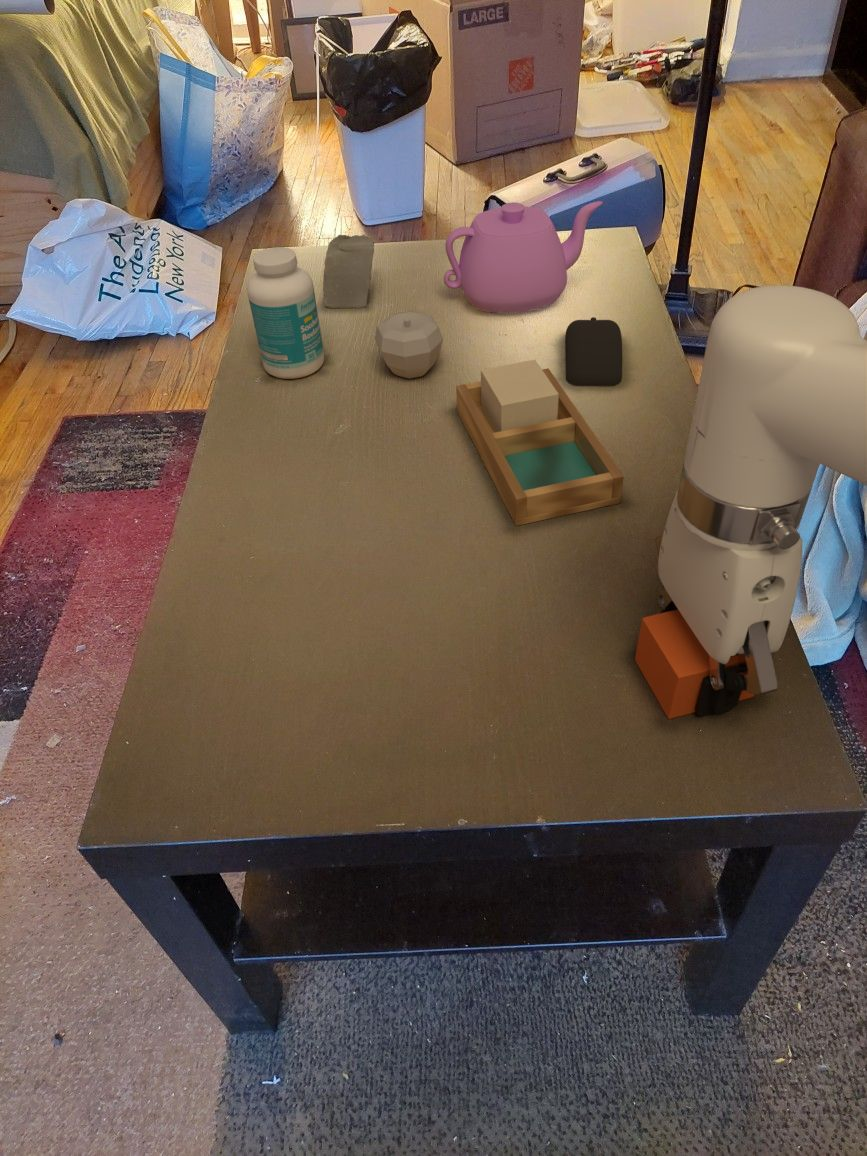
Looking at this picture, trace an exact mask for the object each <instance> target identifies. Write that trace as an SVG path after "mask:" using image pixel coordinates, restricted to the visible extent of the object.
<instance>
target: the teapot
mask: <svg viewBox="0 0 867 1156" xmlns="http://www.w3.org/2000/svg"><path fill="white" fill-rule="evenodd" d="M603 203H604V201H602V200H598V201H594V202H591V203H588V204H586V205H583V206H582V207H581V208H580V209H579V210H578V211H577V213H576V215H575V217H574V220H573V225H572V229H571V232H570V234H569V236H568V237H567V238H566V239H565V240H564V241H563V242H562V241H561V238H560V237H559V235H558V232H557V230H556V227H555V225H554V223H553V221H552V219H551V218H550V216H549V214H547V212H546V211H544V210H543V209H542V208H539V207H536V206H525V204H522V203H521V202H507V203H504V204H502V205H501V207H499V208H493V209H489V210H488V209H487V210H484V211H482V212H480V213H478V214H477V215H475V216H474V218H473V220H472V221H471V223H470V225H469V226H460V227H457V228H455V229H453V230H452V231H451V232H450V233H449V234H448V235H447V237H446V239H445V245H444V246H445V253H446V257H447V259H448V261H449V264H450V266H451V269H448V270H447V271H445V274H444V276H443V282H444V285H445V286H446V287H447V288H449V289H453V290H456V289H457V290H458V289H460V288H461V290H462V291H463V294H464V296H465V297H466V299H467V300H468V301H469V302H470V303H471V305H472V306H473V307H474V308H475V309H477V310H480V311H482V312H487V313H489V314H499V313H505V314H506V313H509V314H510V313H522V312H528V311H533V310H537V309H542V308H544V307H545V308H546V307H547V306H550V305H552V304H554V303H555V302H556V301H557V300H558V299H559V298H560V296H561V295H562V293H564V291H565V289H566V286H567V284H568V272H567V271H568V270H569V269H571V267H573V266H574V265H575V264H576V262H578V260H579V258H580V256H581V254H582V251H583V247H584V241H585V233H586V228H587V223H588V221H589V219H590V217H591V215H592V214H593V213H594V212H595V211H596V210H597V209H598V208H599V207H600V206H602V205H603ZM461 237H464V240H463V243H462V247H461V249H460V255H459V261H458V260H457V258H456V255H455V251H454V248H453V246H454V242H455V241H456V240H457V239H459V238H461ZM451 276H455V279H454V280H452V279H450V277H451Z"/></svg>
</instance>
